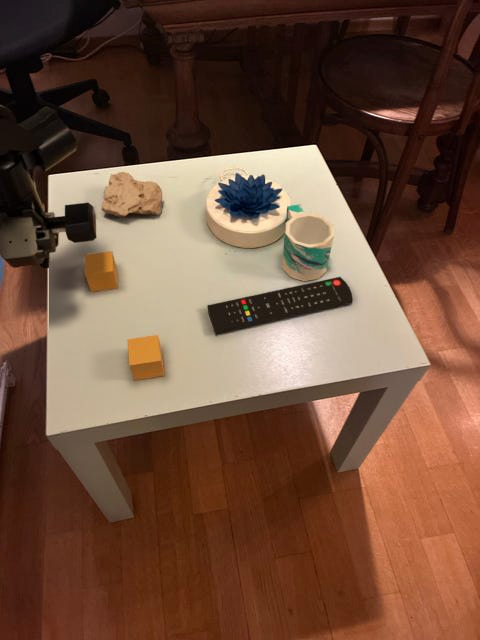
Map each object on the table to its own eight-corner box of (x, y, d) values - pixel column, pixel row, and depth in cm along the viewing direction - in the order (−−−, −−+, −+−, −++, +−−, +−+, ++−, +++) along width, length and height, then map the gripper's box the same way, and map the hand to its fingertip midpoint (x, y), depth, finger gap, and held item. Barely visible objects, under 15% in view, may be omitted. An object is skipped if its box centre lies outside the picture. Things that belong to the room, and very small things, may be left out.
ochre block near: (164, 375, 73) (161, 360, 69) (134, 380, 72) (129, 365, 68) (161, 350, 75) (158, 334, 71) (132, 355, 74) (127, 339, 71)
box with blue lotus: (304, 212, 84) (269, 144, 95) (217, 227, 81) (191, 155, 92) (299, 240, 90) (267, 172, 101) (218, 255, 87) (193, 184, 98)
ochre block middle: (118, 288, 82) (113, 271, 78) (91, 292, 81) (84, 274, 78) (117, 268, 85) (112, 250, 81) (90, 272, 84) (84, 254, 80)
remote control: (207, 310, 80) (207, 305, 79) (341, 281, 84) (343, 276, 83) (215, 336, 77) (215, 331, 76) (354, 304, 81) (355, 299, 80)
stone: (122, 186, 97) (117, 165, 93) (170, 206, 94) (167, 185, 90) (94, 213, 92) (88, 193, 88) (143, 234, 89) (139, 214, 85)
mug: (288, 284, 83) (292, 249, 76) (269, 236, 90) (272, 200, 83) (333, 275, 84) (341, 241, 78) (312, 228, 91) (317, 193, 84)
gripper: (-73, 239, 59) (-20, 314, 72) (83, 222, 62) (107, 297, 74) (-59, 181, 65) (-13, 259, 78) (82, 167, 68) (105, 245, 81)
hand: (46, 266), depth 78 cm, fingers closed
